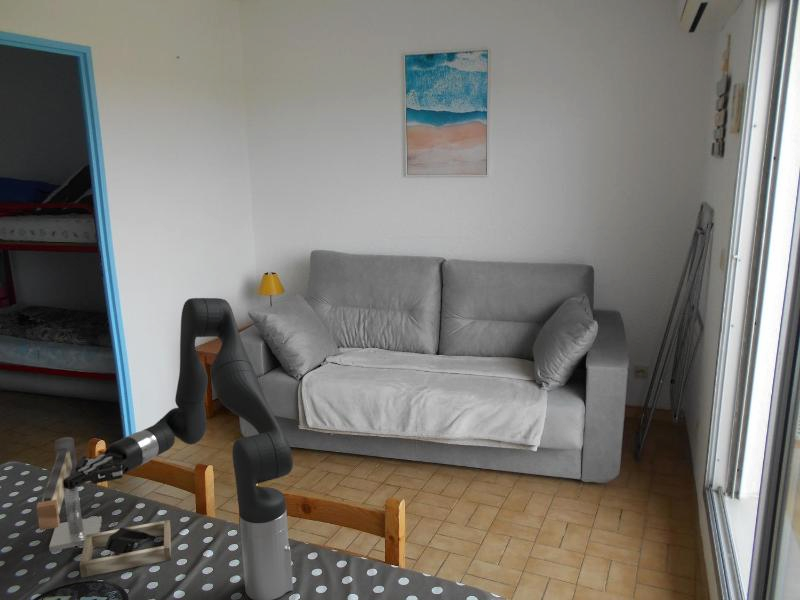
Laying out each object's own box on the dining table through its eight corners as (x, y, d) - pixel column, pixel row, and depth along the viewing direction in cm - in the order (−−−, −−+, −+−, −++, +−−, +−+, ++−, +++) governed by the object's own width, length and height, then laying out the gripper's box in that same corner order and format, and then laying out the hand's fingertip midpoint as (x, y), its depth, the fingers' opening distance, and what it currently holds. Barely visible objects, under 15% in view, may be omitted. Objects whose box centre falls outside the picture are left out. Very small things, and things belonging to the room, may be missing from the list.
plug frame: (170, 531, 155) (169, 519, 154) (170, 559, 144) (169, 547, 143) (87, 546, 149) (86, 534, 149) (81, 577, 138) (79, 565, 138)
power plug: (164, 536, 151) (125, 530, 141) (152, 570, 149) (111, 566, 139) (147, 530, 154) (108, 524, 144) (135, 564, 151) (94, 560, 141)
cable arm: (59, 470, 152) (55, 438, 150) (78, 467, 153) (74, 436, 151) (38, 538, 125) (32, 500, 123) (61, 534, 126) (56, 496, 124)
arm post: (102, 520, 160) (94, 461, 157) (97, 542, 151) (89, 480, 148) (56, 528, 157) (48, 468, 154) (49, 551, 148) (40, 488, 144)
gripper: (111, 431, 154) (43, 462, 139) (151, 441, 148) (85, 474, 133) (114, 460, 156) (48, 494, 141) (155, 472, 150) (89, 508, 135)
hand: (66, 484), depth 137 cm, fingers closed
